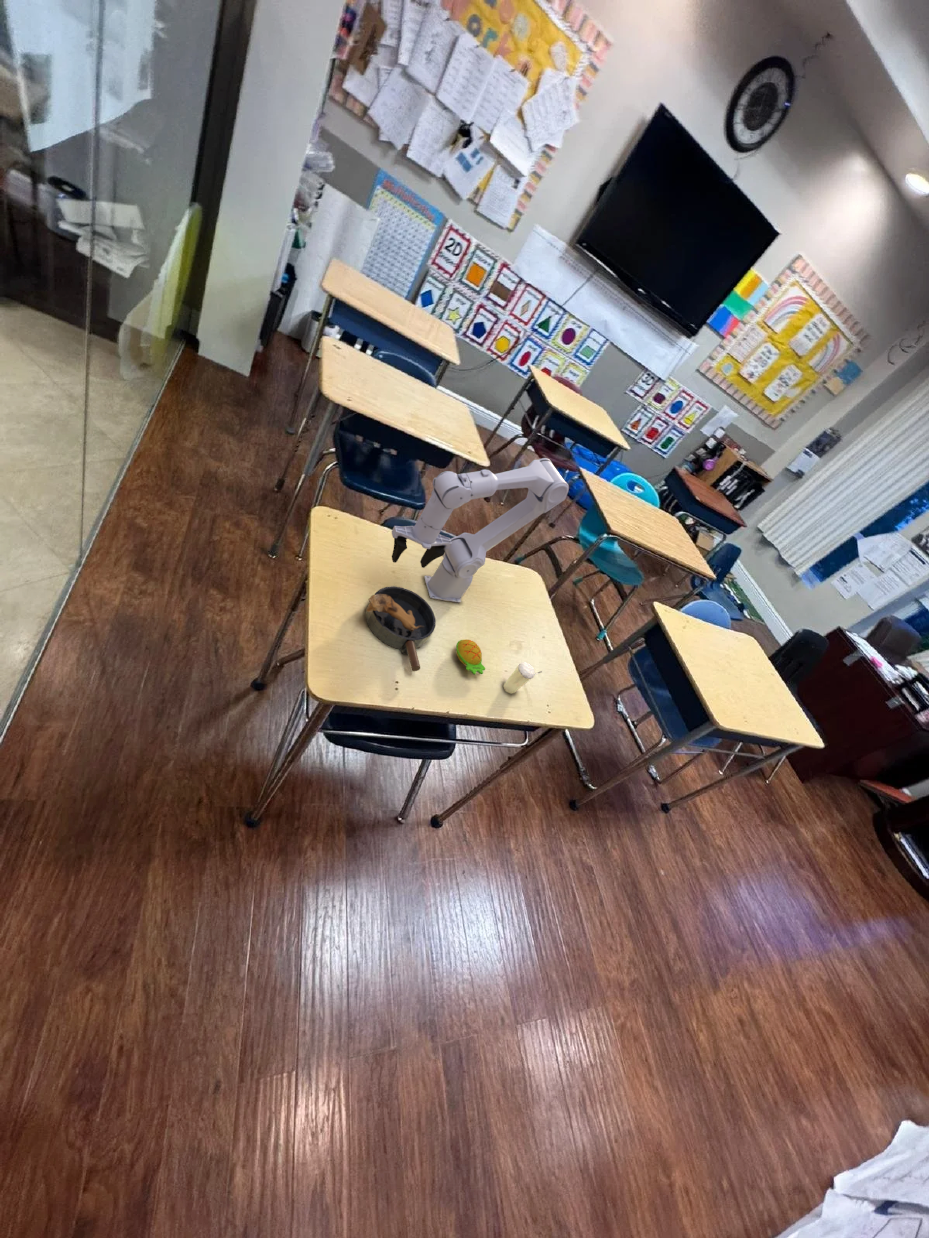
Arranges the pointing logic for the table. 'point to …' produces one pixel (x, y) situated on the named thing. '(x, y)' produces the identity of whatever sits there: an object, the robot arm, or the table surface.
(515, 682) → the milkshake
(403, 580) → the table surface
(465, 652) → the toy pineapple
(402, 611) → the lion figurine
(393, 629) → the pan
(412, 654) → the pan handle
